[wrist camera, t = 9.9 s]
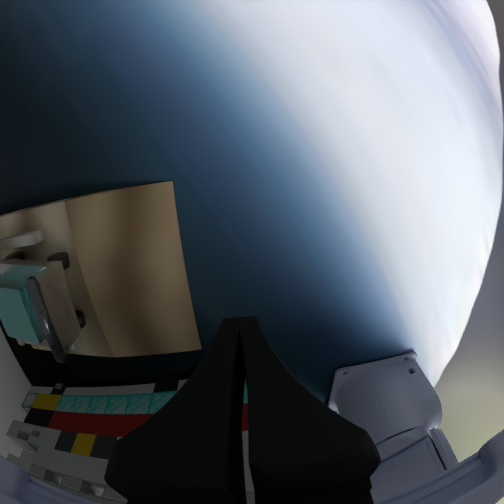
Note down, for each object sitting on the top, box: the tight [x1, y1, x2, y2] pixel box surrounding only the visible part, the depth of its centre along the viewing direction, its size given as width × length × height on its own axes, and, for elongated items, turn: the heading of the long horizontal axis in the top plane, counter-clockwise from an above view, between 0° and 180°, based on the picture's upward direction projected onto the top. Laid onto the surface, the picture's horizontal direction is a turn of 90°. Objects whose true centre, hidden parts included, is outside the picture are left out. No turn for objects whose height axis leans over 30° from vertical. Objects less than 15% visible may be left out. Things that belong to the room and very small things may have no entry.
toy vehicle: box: [6, 371, 255, 504], centre depth 19 cm, size 8×30×15 cm, turn 105°
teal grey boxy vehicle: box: [0, 251, 86, 363], centre depth 16 cm, size 7×7×5 cm
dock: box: [0, 181, 202, 357], centre depth 19 cm, size 19×14×4 cm
